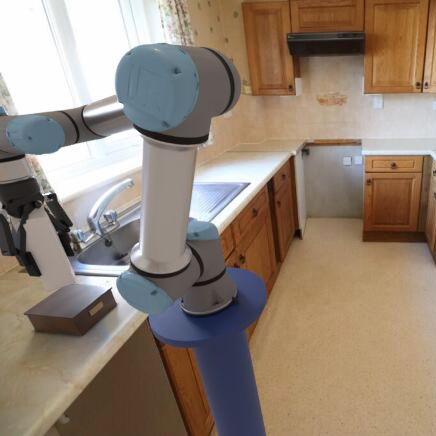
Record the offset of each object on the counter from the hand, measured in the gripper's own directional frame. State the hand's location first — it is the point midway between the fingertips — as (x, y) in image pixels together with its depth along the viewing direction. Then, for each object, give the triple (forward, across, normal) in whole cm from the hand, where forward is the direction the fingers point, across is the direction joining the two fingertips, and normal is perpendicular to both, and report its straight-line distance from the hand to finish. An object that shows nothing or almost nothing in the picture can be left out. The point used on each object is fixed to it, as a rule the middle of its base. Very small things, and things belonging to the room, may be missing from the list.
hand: (53, 265), depth 81 cm
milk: (+6, 0, 0) cm, 6 cm away
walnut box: (+17, 0, 0) cm, 17 cm away
